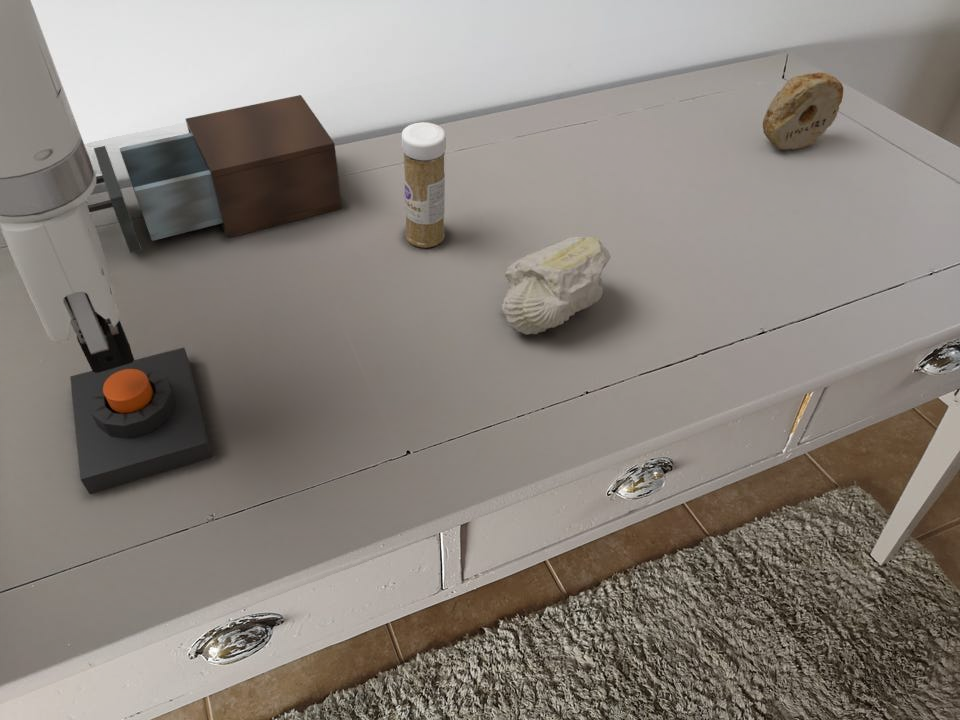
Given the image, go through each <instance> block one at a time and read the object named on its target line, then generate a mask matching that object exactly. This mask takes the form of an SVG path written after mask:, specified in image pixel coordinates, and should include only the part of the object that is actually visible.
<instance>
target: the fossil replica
mask: <svg viewBox="0 0 960 720" xmlns="http://www.w3.org/2000/svg"><path fill="white" fill-rule="evenodd" d="M610 259H611V254H610V251H609V250H608V249H607V248H606V247H605V246H604V244H603V243H602V242H601V241H600V239H599V238H596V237H595V236H594V237H593V236H589V237H588V236H571V237H568V238H565V239H564V240H563V241H558V242H556V243H554V244H551V245H548V246H546V247H544V248H542V249H539V250H537V251H534V252H531V253H529V254H527V255H524V256H522V257H521V258H518V259H517V260H515V261H514V262H512V264H511V265H509V266H507V268H506V270H505V273H504V277H505V278H506V280H507V282H508V284H509V287H510V288H509V289H508V290H507V292H506V295H505V297H504V299H503V301H502V305H501V309H502V313H503V315H504V316H505V319H506V321H507V322H508V325H509V326H510V328H512V329H514V330H515V331H516V332H517V333H522V334H524V335H528V336H529V335H538V333H542V332H546V330H547V329H551V328H556V327H558V326H562V325H564V323H565V322H567V321H569V320H570V318H571V316H575V314H576V312H580V311H581V310H585V309H588V308H589V307H591V306H592V305H593V304H596V303H597V302H598V301H600V299H601V297H602V296H603V293H604V292H603V291H604V289H603V286H604V285H603V282H604V281H603V279H602V273H603V270H604V269H605V267H606V266H607V264H608V263H609V261H610Z"/></svg>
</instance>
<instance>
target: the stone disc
mask: <svg viewBox="0 0 960 720" xmlns="http://www.w3.org/2000/svg"><path fill="white" fill-rule="evenodd" d="M843 97H844V86H843V84H842V82H841V81H839V79H838V78H837V77H835V76H833V75H831V74H829V73H826V72H814V73H803V74H801V75H796V76H793V77H791V78H790V79H789V80H787V81H786V82H785V83H784V85H783V86H782V88H781V90H779V91H778V92H777V93H776V95H775V96H774V97H773V98H772V100H771V102H770V104H769V105H768V107H767V110H766V112H765V114H764V117H763V119H762V130H763V134H764V135H765V137H766V139H767V140H768V141H769V142H770V143H771V144H772V145H773V146H774V147H775V148H778V149H779V150H784V151H785V150H791V151H792V150H798V149H802V148H805V147H806V148H807V147H808V146H811V145H812V144H813V143H815V142H816V141H818V140H819V139H820V138H821V137H822V136H823V134H825V132H826V131H827V130H828V128H829V127H831V126H832V124H833V123H834V121H835V120H836V118H837V116H838V112H839V110H840V105H841V104H842V102H843Z"/></svg>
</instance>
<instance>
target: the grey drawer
mask: <svg viewBox="0 0 960 720" xmlns="http://www.w3.org/2000/svg"><path fill="white" fill-rule="evenodd" d="M93 151H94V154H95V157H96V161H97V164H98V166H99V169H100V170H99V171H100V172H101V175H96V185H99V184H102V183H103V184H104V185H105V188H106V191H107V194H108V197H109V199H108V200H103V201H99V202H95V203H92V204H87V206H88V209H89V212H90V213H93V212H98V211H102V210H106V209H111V208H113V211H114V214H115V216H116V219H117V222H118V225H119V227H120V229H121V232H122V236H123V237H124V240H125V242H126V246H127V248H128V251H129V253H130V254H132V253H136V252H140V251H142V249H143V248H142V247H141V244H140V241H139V238H138V235H137V232H136V229H135V226H134V224H133V221H132V218H131V215H130V212H129V209H128V206H127V203H126V200H125V197H124V194H123V192H122V189H121V187H120V184H119V183H120V182H119V181H118V177H117V175H116V172H115V169H114V167H113V164H112V161H111V158H110V156H109V152H108V150H107V147H106V145H103V146H98V147H97V146H96V147H93ZM119 151H120V155H121V157H122V161H123V163H124V167H125V170H126V172H127V175H128V177H129V181H130V185H131V187H132V189H133V192H134V195H135V198H136V201H137V203H138V206H139V209H140V211H141V215H142V217H143V220H144V223H145V226H146V229H147V231H148V234H149V236H150V240H151V241H157V240H161V239H166V238H170V237H174V236H177V235H181V234H185V233H189V232H193V231H197V230H201V229H205V228H208V227H212V226H217V225H220V224H221V223H223V220H222V216H221V213H220V209H219V205H218V201H217V197H216V193H215V189H214V185H213V181H212V177H211V173H210V171H209V169H208V167H207V165H206V163H205V161H204V159H203V157H202V155H201V153H200V151H199V149H198V147H197V144H196V142H195V140H194V138H193V136H192V134H191V133H189V132H187V133H183V134H178V135H173V136H168V137H164V138H160V139H159V138H158V139H154V140H150V141H145V142H141V143H136V144H131V145H127V146H126V145H125V146H122V147H121V146H120V147H119ZM221 225H222V224H221Z"/></svg>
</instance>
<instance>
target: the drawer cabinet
mask: <svg viewBox="0 0 960 720" xmlns="http://www.w3.org/2000/svg"><path fill="white" fill-rule="evenodd" d="M185 124H186V127H187V130H188V133H191V134H192V136H193V138H194V140H195V142H196V144H197V147H198V149H199V151H200V153H201V155H202V157H203V159H204V161H205V163H206V165H207V167H208V169H209V171H210V173H211V177H212V181H213V185H214V189H215V193H216V197H217V201H218V205H219V209H220V213H221V216H222V220H223V223H221V227H222V229H223V230H224V233H225V235H226V237H227V238H228V239H229V238H233V237H237V236H242V235H246V234H248V233H253V232H256V231H260V230H263V229H267V228H272V227H275V226H279V225H283V224H287V223H291V222H295V221H298V220H303V219H306V218H311V217H314V216H318V215H321V214H325V213H328V212H329V213H330V212H333V211H337V210H340V209H341V210H342V208H343V205H342V197H341V187H340V179H339V170H338V162H337V161H338V160H337V153H336V146H335V144H336V143H335V141H334V140H333V138H332V137H331V136H330V135H329V133H328V132H327V130H326V129H325V128H324V126H323V125H322V123H321V121H320V120H319V118H318V117H317V116H316V114H315V113H314V111H313V110H312V109H311V107H310V106H309V104H308V103H307V102H306V100H305V99H304V97H303V96H302V94H299V95H294V96H289V97H284V98H279V99H274V100H269V101H264V102H259V103H255V104H249V105H245V106H240V107H235V108H231V109H226V110H225V109H224V110H221V111H216V112H211V113H205V114H202V115H197V116H192V117H186V118H185Z"/></svg>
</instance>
